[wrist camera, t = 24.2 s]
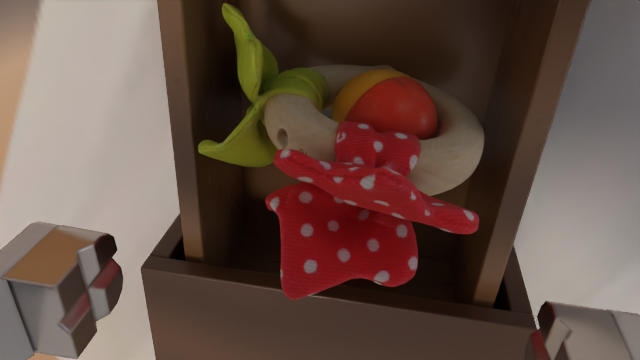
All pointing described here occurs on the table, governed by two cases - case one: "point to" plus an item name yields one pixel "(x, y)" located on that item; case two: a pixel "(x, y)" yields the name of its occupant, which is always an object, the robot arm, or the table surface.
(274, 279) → the cabinet
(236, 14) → the bird rattle
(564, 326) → the robot arm
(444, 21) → the drawer
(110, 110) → the table surface
